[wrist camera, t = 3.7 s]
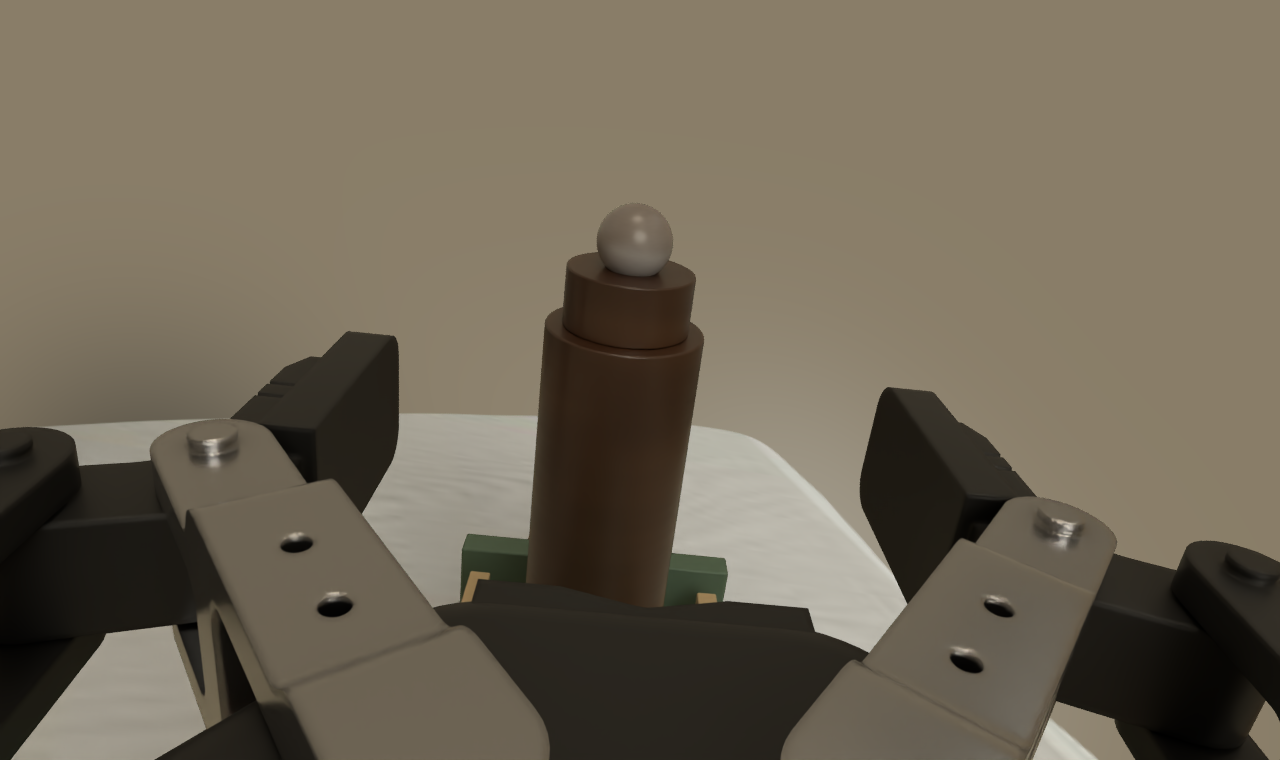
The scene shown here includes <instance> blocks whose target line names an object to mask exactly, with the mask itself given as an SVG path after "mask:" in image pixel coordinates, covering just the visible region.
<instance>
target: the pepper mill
mask: <svg viewBox="0 0 1280 760" xmlns="http://www.w3.org/2000/svg"><path fill="white" fill-rule="evenodd" d="M672 248H673V236H672V232H671V228H670V226H669V224H668V222H667V220H666V219H665V218H664V216H663V215H662V214H661V213H660V212H658V211H657V210H656V209H654V208H653V207H650V206H648V205H645V204H640V203H630V204H625V205H622V206H619V207H617V208H616V209H614V210H612V212H610V213H609V214H608V215H607V216H606V217H605V218H604V220H603V222H602V223H601V225H600V227H599V230H598V234H597V250H598V252H595V253H587V254H582V255H578V256H575V257H573V258H571V259H570V260H569V261H568V262H567V267H566V280H565V291H564V303H563V307H562V308H559V309H557V310H555V311H553V312H551V313H550V314H549V315H548V317H547V318H546V320H545V329H544V342H543V343H544V344H543V356H542V369H541V383H540V397H539V410H538V423H537V437H536V451H535V464H534V478H533V491H532V505H531V518H530V532H529V546H528V559H527V573H526V583H531V584H542V585H553V586H562V587H565V588H569V589H573V590H577V591H581V592H585V593H588V594H592V595H596V596H600V597H604V598H608V599H611V600H615V601H619V602H623V603H627V604H631V605H634V606H639V607H647V608H650V607H663V605H664V599H665V592H666V586H667V579H668V573H669V566H670V560H671V553H672V547H673V540H674V534H675V527H676V521H677V514H678V508H679V501H680V495H681V488H682V482H683V475H684V469H685V462H686V455H687V449H688V442H689V436H690V429H691V423H692V416H693V409H694V402H695V397H696V390H697V384H698V377H699V371H700V364H701V358H702V351H703V345H704V336H703V334H702V332H701V330H700V329H699V328H698V327H697V326H696V325H694V324H693V323H691V322H690V317H691V311H692V304H693V296H694V290H695V283H696V277H695V274H694V273H693V272H692V271H691V270H689V269H688V268H686V267H684V266H682V265H679V264H677V263H675V262H672V261H669V258H670V255H671V252H672Z"/></svg>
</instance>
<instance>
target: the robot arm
mask: <svg viewBox="0 0 1280 760" xmlns="http://www.w3.org/2000/svg"><path fill="white" fill-rule="evenodd" d="M398 353H399V351H398V343H397V340H396V338H395V337H394V336H390V335H380V334H370V333H360V332H350V331H348V332H346V333H345V334H344V335H343V336H342V337H341V338H340V339H339V340H338V341H337V342H336V343H335V344H334V345H333V346H332V347H331V348H330V349H329V350H328V351H327V352H326V353H325V354H324V355H323V356H322V357H309V358H306V359H303V360H301V361H299V362H296V363H294V364H291V365H289V366H286V367H285V368H283V369H282V370H281V371H280V372H279V373H278V374H277V375H276V376H275V377H274V378H273V379H272V380H271V381H270V384H266V385H265V386H264V387H263V388H262V389H261V390H260V391H259V392H258V396H256V395H255V396H254V397H253V398H252V399H251V400H249V401H248V402H247V403H246V404H245V405H244V406H243V407H242V408H241V409H240V410H239V411H238V412H237V413H236V414H235V415H234V416H233V417H231V418H230V419H215V420H205V421H199V422H194V423H189V424H186V425H182V426H179V427H176V428H174V429H171V430H169V431H167V432H165V433H164V434H162V435H160V436H159V437H158V438H157V439H156V440H154V442H153V443H152V445H151V447H150V456H151V460H150V461H143V462H132V463H117V464H101V465H85V466H79V463H78V457H77V451H76V445H75V441H74V439H73V438H72V437H71V436H70V435H68V434H66V433H64V432H61V431H58V430H54V429H49V428H39V427H23V428H22V427H21V428H9V429H1V430H0V760H11V758H12V757H13V756H14V755H15V753H16V752H17V751H18V750H19V748H20V747H21V746H22V744H23V743H24V742H25V741H26V739H27V738H28V737H29V735H30V734H31V733H32V732H33V730H34V729H35V728H36V727H37V725H38V724H39V723H40V721H41V720H42V719H43V718H44V716H45V715H46V714H47V712H48V711H49V710H50V709H51V707H52V706H53V705H54V704H55V702H56V701H57V700H58V698H59V697H60V696H61V695H62V693H63V692H64V691H65V689H66V688H67V687H68V686H69V684H70V683H71V682H72V681H73V679H74V678H75V677H76V675H77V674H78V673H79V672H80V670H81V669H82V668H83V666H84V665H85V664H86V663H87V661H88V660H89V659H90V658H91V656H92V655H93V654H94V652H95V651H96V650H97V649H98V647H99V646H100V645H101V643H102V641H103V640H104V637H105V635H106V633H113V632H121V631H129V630H137V629H145V628H153V627H161V626H169V625H172V626H173V633H174V639H175V641H176V644H177V647H178V650H179V653H180V656H181V658H182V661H183V664H184V667H185V670H186V673H187V675H188V678H189V681H190V684H191V687H192V690H193V693H194V695H195V698H196V701H197V704H198V707H199V710H200V712H201V715H202V718H203V721H204V724H205V727H206V730H204V731H203V732H201V733H199V734H198V735H196V736H194V737H192V738H191V739H189V740H187V741H186V742H184V743H182V744H181V745H179V746H177V747H175V748H174V749H172V750H170V751H169V752H167V753H165V754H163V755H162V756H160V757H158V758H157V759H155V760H1033V757H1034V755H1035V752H1036V750H1037V747H1038V745H1039V742H1040V740H1041V738H1042V735H1043V733H1044V730H1045V728H1046V725H1047V723H1048V720H1049V718H1050V715H1051V713H1052V710H1053V708H1054V705H1055V703H1056V701H1058V702H1061V703H1064V704H1067V705H1070V706H1074V707H1077V708H1081V709H1083V710H1087V711H1090V712H1093V713H1096V714H1100V715H1103V716H1106V717H1109V718H1113V719H1115V724H1116V728H1117V730H1118V732H1119V734H1120V735H1121V737H1122V738H1123V740H1124V742H1125V744H1126V745H1127V747H1128V748H1129V750H1130V752H1131V753H1132V755H1133V757H1134V758H1135V760H1269V759H1268V758H1267V757H1266V756H1265V754H1264V753H1263V752H1262V750H1261V749H1260V748H1259V747H1258V746H1257V744H1256V743H1255V742H1254V741H1253V739H1252V738H1251V737H1250V736H1249V732H1250V730H1251V728H1252V726H1253V724H1254V722H1255V720H1256V718H1257V716H1258V714H1259V712H1260V710H1261V708H1262V706H1263V704H1264V702H1265V701H1267V702H1268V704H1269V705H1270V706H1271V707H1272V708H1273V710H1274V711H1275V713H1276V714H1277V716H1278V718H1279V721H1280V562H1278V561H1275V560H1273V559H1271V558H1269V557H1267V556H1265V555H1263V554H1261V553H1258V552H1255V551H1252V550H1249V549H1247V548H1243V547H1240V546H1237V545H1232V544H1228V543H1223V542H1217V541H1197V542H1193V543H1191V544H1189V545H1188V546H1187V547H1186V550H1185V552H1184V554H1183V557H1182V559H1181V561H1180V564H1179V566H1178V569H1177V570H1173V569H1169V568H1165V567H1161V566H1157V565H1153V564H1150V563H1145V562H1142V561H1138V560H1134V559H1130V558H1127V557H1123V556H1120V555H1117V554H1114V551H1115V549H1116V546H1117V540H1116V537H1115V535H1114V533H1113V532H1112V531H1111V530H1110V529H1109V527H1107V526H1106V525H1105V524H1104V523H1103V522H1101V521H1100V520H1098V519H1097V518H1095V517H1093V516H1092V515H1090V514H1089V513H1087V512H1084V511H1082V510H1080V509H1078V508H1076V507H1073V506H1071V505H1068V504H1065V503H1062V502H1059V501H1055V500H1051V499H1045V498H1040V497H1037V496H1036V495H1035V494H1034V493H1033V492H1032V491H1031V489H1030V488H1029V487H1028V486H1027V485H1026V484H1025V482H1024V481H1023V480H1022V479H1021V478H1020V477H1019V475H1018V474H1017V473H1016V472H1015V471H1012V468H1011V466H1010V465H1009V464H1008V463H1007V461H1006V460H1005V459H1004V458H1002V457H1000V454H999V452H998V451H997V450H996V449H995V448H994V446H993V445H992V444H991V443H990V442H989V441H988V439H987V438H985V437H984V436H982V435H981V434H979V433H977V432H976V431H974V430H973V429H971V428H969V427H968V426H966V425H964V424H963V423H959V422H958V421H957V420H956V419H955V418H954V416H953V415H952V414H951V413H950V412H949V411H948V409H947V408H946V407H945V405H944V404H943V403H942V402H941V401H940V399H939V398H938V397H937V396H936V395H935V394H934V393H933V392H930V391H920V390H911V389H900V388H891V387H887V388H886V389H885V390H884V391H883V392H882V394H881V396H880V399H879V402H878V405H877V409H876V413H875V418H874V422H873V426H872V430H871V434H870V438H869V442H868V447H867V451H866V455H865V459H864V463H863V468H862V472H861V478H860V500H861V505H862V508H863V511H864V513H865V515H866V517H867V519H868V521H869V524H870V526H871V528H872V530H873V532H874V534H875V536H876V538H877V541H878V543H879V545H880V547H881V549H882V551H883V553H884V555H885V557H886V560H887V562H888V564H889V566H890V568H891V570H892V572H893V574H894V577H895V579H896V581H897V583H898V585H899V587H900V589H901V591H902V594H903V596H904V598H905V600H906V602H907V604H908V605H907V606H906V607H905V608H904V610H903V611H902V612H901V613H900V615H899V616H898V617H897V619H896V620H895V621H894V622H893V624H892V625H891V626H890V627H889V629H888V630H887V631H886V632H885V634H884V635H883V636H882V638H881V639H880V640H879V641H878V643H877V644H876V645H875V646H874V648H873V649H872V650H871V651H870V653H868V652H866V651H864V650H862V649H860V648H858V647H856V646H853V645H851V644H849V643H847V642H844V641H842V640H839V639H836V638H833V637H830V636H827V635H824V634H821V633H817V632H815V630H814V627H813V623H812V620H811V617H810V613H809V610H808V608H798V607H787V606H775V605H764V604H753V603H742V602H731V601H725V602H713V603H701V604H689V605H677V606H665V607H650V608H647V607H639V606H634V605H631V604H627V603H623V602H619V601H615V600H611V599H608V598H604V597H600V596H596V595H592V594H588V593H585V592H581V591H577V590H573V589H569V588H565V587H562V586H553V585H542V584H531V583H520V582H508V581H497V580H486V579H478V581H477V584H476V587H475V591H474V594H473V598H472V601H470V602H460V603H454V604H448V605H442V606H438V607H434V608H432V606H431V605H430V604H429V602H428V601H427V600H426V598H425V597H424V596H423V594H422V593H421V592H420V590H419V589H418V588H417V587H416V585H415V584H414V583H413V581H412V580H411V579H410V577H409V576H408V575H407V573H406V572H405V571H404V569H403V568H402V567H401V565H400V564H399V563H398V562H397V560H396V559H395V558H394V556H393V555H392V554H391V552H390V551H389V550H388V548H387V547H386V546H385V544H384V543H383V542H382V541H381V539H380V538H379V537H378V535H377V534H376V533H375V531H374V530H373V529H372V527H371V526H370V525H369V523H368V522H367V521H366V519H365V518H364V517H363V516H362V513H363V511H364V509H365V508H366V506H367V504H368V502H369V501H370V499H371V497H372V495H373V494H374V492H375V490H376V488H377V487H378V485H379V483H380V482H381V480H382V478H383V476H384V475H385V473H386V471H387V469H388V468H389V466H390V464H391V462H392V460H393V457H394V454H395V450H396V446H397V440H398V430H399V354H398Z"/></svg>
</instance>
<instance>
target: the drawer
mask: <svg viewBox="0 0 1280 760" xmlns="http://www.w3.org/2000/svg"><path fill="white" fill-rule="evenodd" d="M528 546H529V538H528V539H518V538H507V537H497V536H486V535H476V534H468V535H467V536H466V539H465V542H464V545H463V548H462V564H461V591H460V602H470V601H472V598H473V594H474V591H475V587H476V584H477V581H478V579H486V580H497V581H508V582H520V583H526V573H527V559H528ZM727 577H728V572H727V566H726V560H725V559H724V558H717V557H707V556H696V555H686V554H675V553H671V560H670V566H669V573H668V579H667V586H666V592H665V599H664V605H663V607H665V606H677V605H689V604H701V603H713V602H723V598H724V593H725V587H726V582H727Z"/></svg>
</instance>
